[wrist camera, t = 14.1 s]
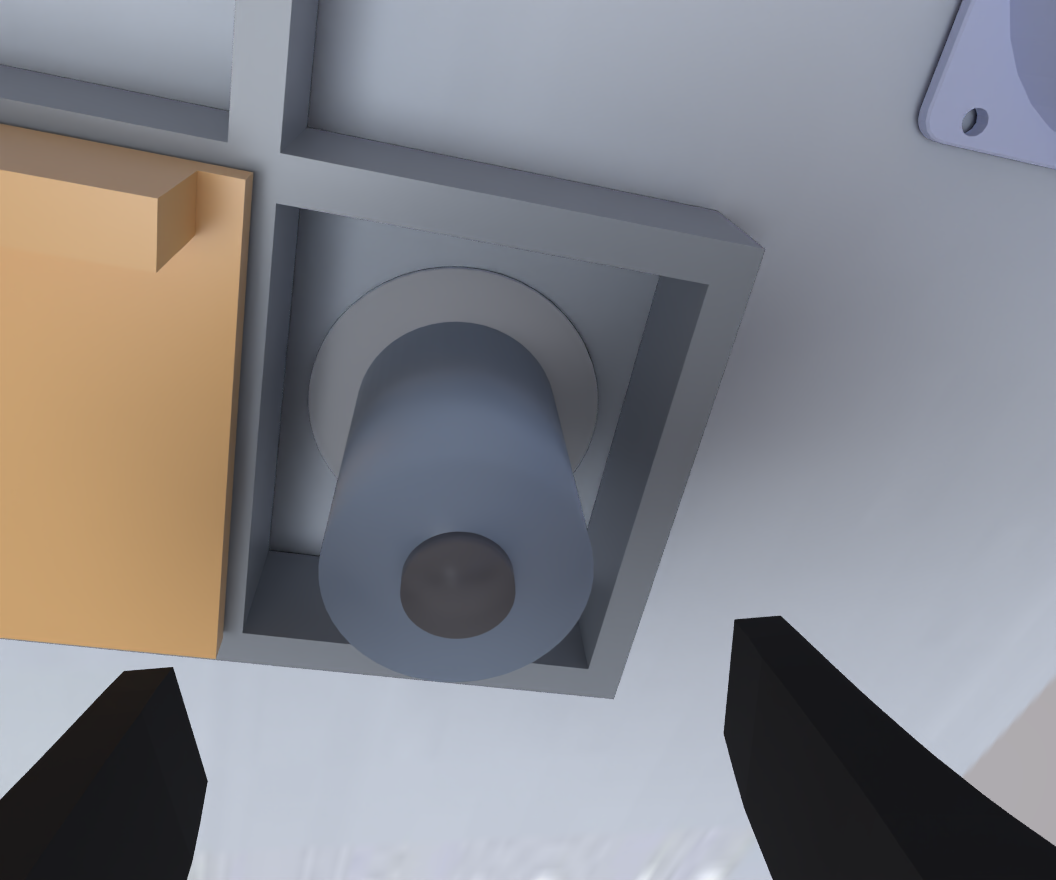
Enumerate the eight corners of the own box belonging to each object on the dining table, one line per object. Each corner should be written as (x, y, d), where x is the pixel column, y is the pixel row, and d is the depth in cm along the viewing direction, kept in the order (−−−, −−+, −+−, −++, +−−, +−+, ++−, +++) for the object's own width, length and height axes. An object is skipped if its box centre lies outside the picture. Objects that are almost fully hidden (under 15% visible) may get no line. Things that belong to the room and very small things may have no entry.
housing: (821, -129, 15) (902, -156, 12) (593, 615, 22) (613, 699, 20) (-311, -449, 12) (-525, -574, 9) (-148, 529, 19) (-243, 615, 17)
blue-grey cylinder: (593, 384, 19) (652, 550, 13) (489, 528, 20) (503, 733, 15) (418, 283, 18) (402, 420, 12) (321, 446, 19) (266, 636, 13)
